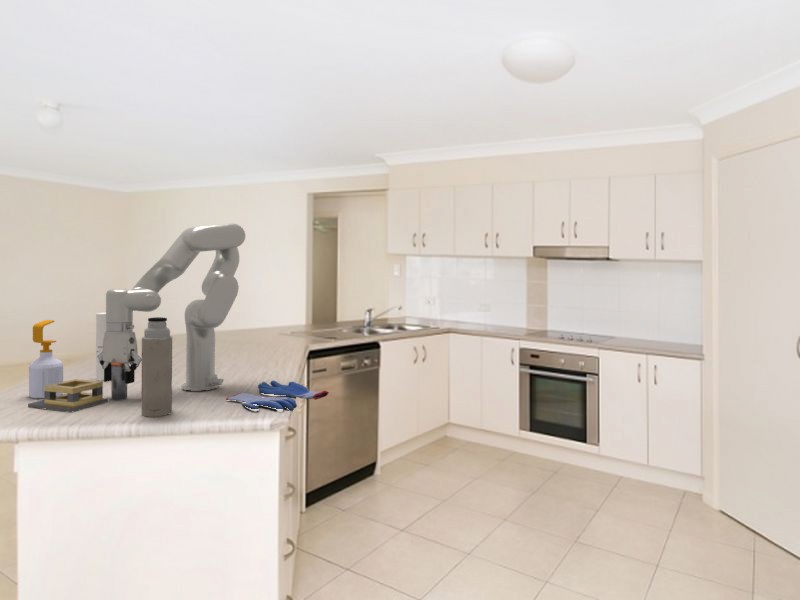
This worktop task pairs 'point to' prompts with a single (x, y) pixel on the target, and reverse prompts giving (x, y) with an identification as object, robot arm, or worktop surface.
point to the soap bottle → (44, 365)
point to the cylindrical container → (100, 343)
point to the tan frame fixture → (71, 395)
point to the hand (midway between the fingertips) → (119, 381)
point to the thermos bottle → (156, 368)
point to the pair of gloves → (277, 389)
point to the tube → (118, 381)
